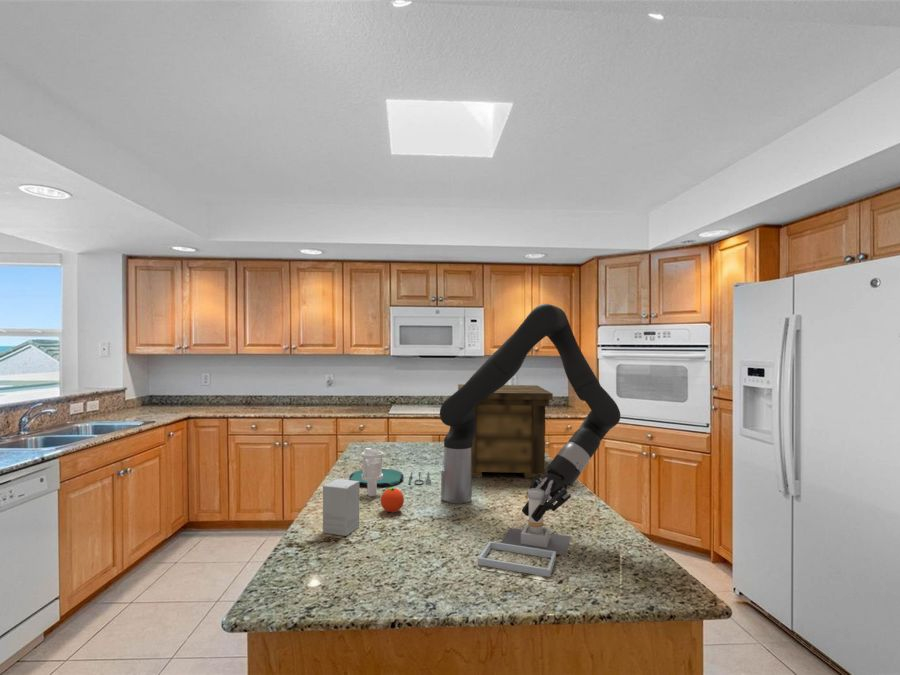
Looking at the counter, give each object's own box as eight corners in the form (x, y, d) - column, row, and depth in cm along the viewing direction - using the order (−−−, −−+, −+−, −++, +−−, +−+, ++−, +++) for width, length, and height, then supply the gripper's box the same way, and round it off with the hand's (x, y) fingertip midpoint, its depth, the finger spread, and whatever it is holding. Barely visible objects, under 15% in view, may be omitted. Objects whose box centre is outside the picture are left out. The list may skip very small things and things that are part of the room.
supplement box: (360, 526, 133) (360, 480, 133) (345, 537, 126) (346, 488, 126) (336, 523, 136) (337, 478, 136) (321, 533, 129) (322, 485, 129)
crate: (457, 458, 215) (458, 384, 215) (536, 459, 215) (537, 385, 215) (457, 480, 180) (458, 392, 180) (551, 481, 180) (552, 393, 180)
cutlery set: (353, 473, 188) (353, 467, 188) (430, 474, 189) (431, 468, 189) (344, 489, 168) (344, 482, 168) (430, 490, 170) (431, 484, 170)
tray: (477, 569, 109) (477, 558, 109) (489, 551, 118) (489, 541, 118) (549, 582, 103) (550, 570, 103) (555, 562, 113) (556, 551, 113)
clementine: (373, 510, 146) (373, 487, 146) (391, 505, 151) (391, 482, 151) (390, 517, 141) (391, 493, 141) (408, 511, 146) (408, 488, 146)
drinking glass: (374, 490, 166) (375, 446, 167) (386, 494, 161) (387, 449, 162) (357, 494, 162) (357, 449, 162) (369, 499, 157) (370, 452, 157)
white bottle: (526, 540, 121) (526, 492, 121) (529, 534, 125) (529, 487, 125) (542, 542, 120) (542, 493, 120) (544, 536, 124) (545, 489, 124)
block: (499, 549, 119) (499, 534, 119) (509, 532, 131) (509, 518, 131) (565, 560, 114) (565, 544, 114) (570, 541, 125) (570, 526, 125)
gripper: (544, 448, 132) (505, 498, 127) (578, 460, 119) (536, 516, 114) (560, 466, 134) (522, 516, 129) (595, 479, 121) (554, 536, 116)
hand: (529, 516), depth 122 cm, fingers closed on white bottle, 3 cm apart
